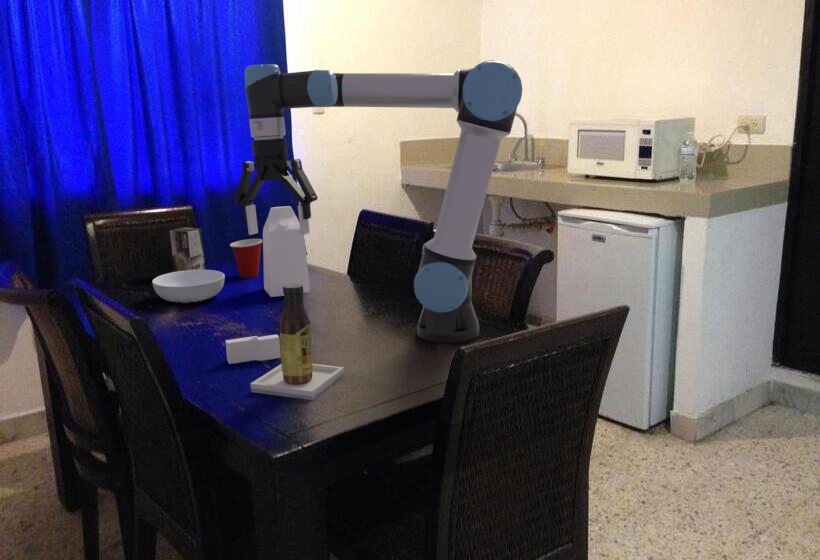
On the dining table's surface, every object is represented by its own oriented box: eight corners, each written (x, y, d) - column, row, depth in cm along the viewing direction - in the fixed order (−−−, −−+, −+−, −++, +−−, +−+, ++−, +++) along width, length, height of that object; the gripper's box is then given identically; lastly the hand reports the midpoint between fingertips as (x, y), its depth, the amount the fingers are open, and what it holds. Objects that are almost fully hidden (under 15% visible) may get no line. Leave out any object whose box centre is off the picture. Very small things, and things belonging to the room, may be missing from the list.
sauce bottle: (309, 385, 149) (303, 290, 144) (278, 385, 149) (272, 289, 145) (316, 374, 155) (311, 282, 150) (287, 373, 156) (281, 281, 151)
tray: (344, 375, 156) (344, 367, 156) (312, 400, 143) (312, 391, 143) (286, 368, 161) (286, 360, 161) (251, 392, 148) (250, 383, 148)
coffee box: (206, 274, 254) (202, 228, 250) (192, 278, 249) (187, 231, 245) (188, 272, 259) (183, 226, 255) (173, 276, 254) (168, 229, 250)
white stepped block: (213, 368, 164) (211, 343, 163) (239, 351, 175) (236, 328, 173) (275, 372, 160) (273, 347, 159) (297, 355, 171) (295, 331, 169)
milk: (301, 284, 236) (296, 203, 230) (310, 292, 226) (304, 207, 220) (264, 288, 232) (257, 206, 226) (271, 297, 222) (264, 210, 216)
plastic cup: (231, 274, 254) (228, 239, 251) (263, 271, 257) (260, 237, 254) (233, 281, 243) (230, 245, 241) (266, 278, 246) (264, 242, 244)
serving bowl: (140, 307, 215) (137, 284, 213) (178, 289, 234) (176, 268, 233) (205, 310, 210) (202, 286, 208) (238, 292, 229) (236, 270, 228)
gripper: (211, 141, 163) (223, 236, 168) (309, 136, 154) (319, 236, 159) (231, 139, 170) (242, 230, 175) (327, 134, 161) (335, 230, 165)
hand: (279, 234), depth 167 cm, fingers open, 13 cm apart
